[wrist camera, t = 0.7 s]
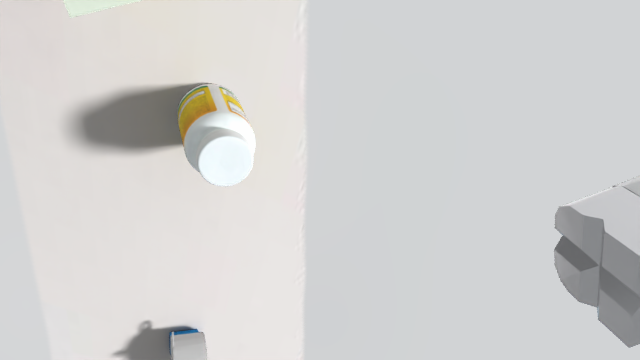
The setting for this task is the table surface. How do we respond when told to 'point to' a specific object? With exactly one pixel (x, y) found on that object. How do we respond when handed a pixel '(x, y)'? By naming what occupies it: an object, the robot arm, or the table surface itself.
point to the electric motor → (188, 345)
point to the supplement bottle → (216, 134)
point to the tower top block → (92, 5)
